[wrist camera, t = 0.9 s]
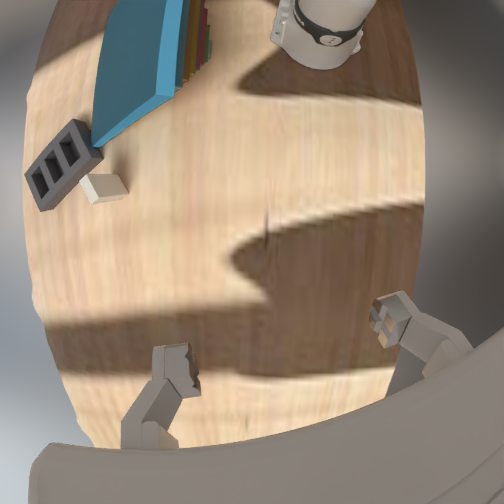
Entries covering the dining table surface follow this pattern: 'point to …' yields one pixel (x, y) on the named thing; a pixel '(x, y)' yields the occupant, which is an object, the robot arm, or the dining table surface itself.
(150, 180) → the dining table surface
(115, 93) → the stacked coloured sheets
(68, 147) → the stand
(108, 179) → the white rectangular block
